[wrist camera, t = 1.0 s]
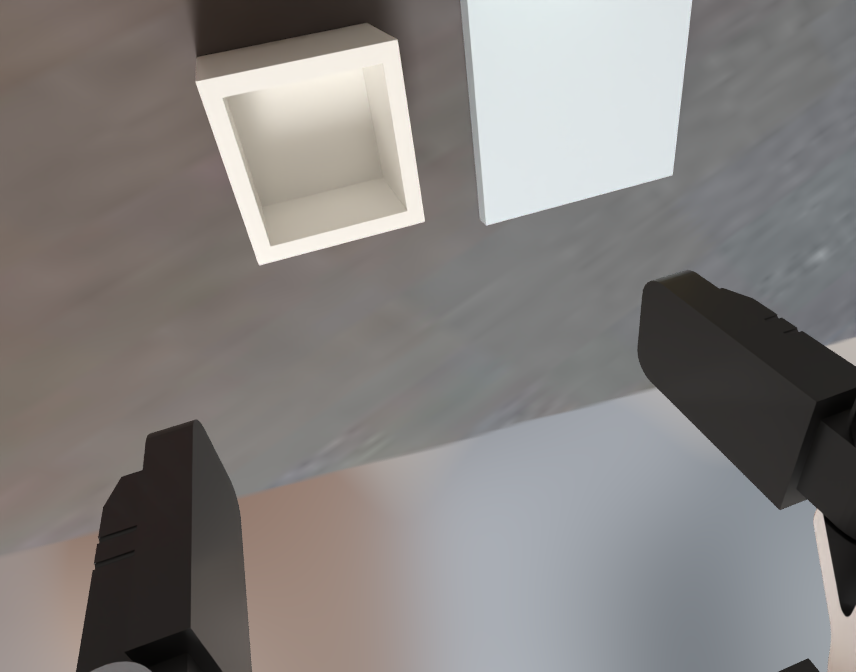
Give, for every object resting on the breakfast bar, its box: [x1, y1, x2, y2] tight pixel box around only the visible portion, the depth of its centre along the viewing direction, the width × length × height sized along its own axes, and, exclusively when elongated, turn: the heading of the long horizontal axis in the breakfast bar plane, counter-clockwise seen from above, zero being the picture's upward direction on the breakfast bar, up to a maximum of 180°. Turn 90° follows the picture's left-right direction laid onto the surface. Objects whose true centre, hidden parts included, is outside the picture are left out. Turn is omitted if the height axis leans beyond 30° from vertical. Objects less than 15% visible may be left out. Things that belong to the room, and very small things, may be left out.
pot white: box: [196, 23, 425, 265], centre depth 22 cm, size 6×6×4 cm
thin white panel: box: [460, 0, 692, 225], centre depth 26 cm, size 10×10×1 cm
